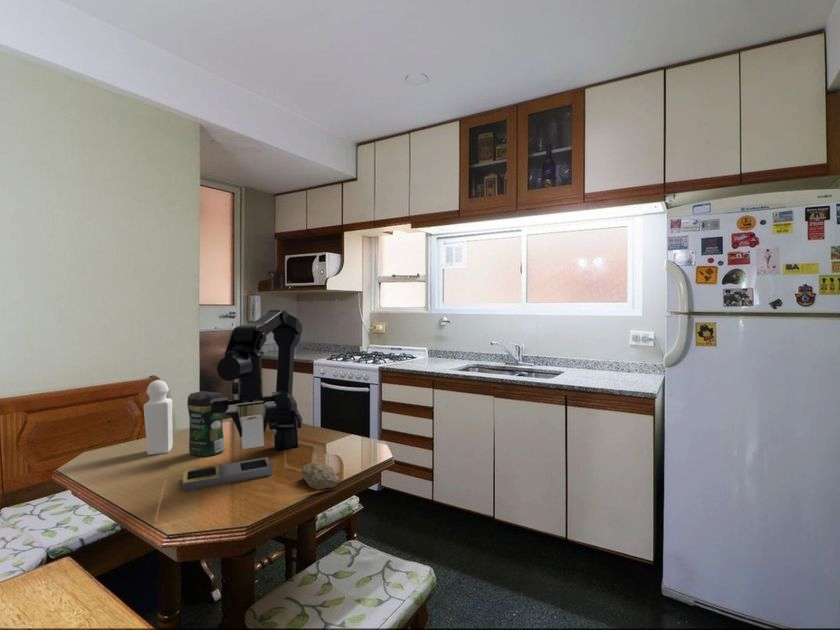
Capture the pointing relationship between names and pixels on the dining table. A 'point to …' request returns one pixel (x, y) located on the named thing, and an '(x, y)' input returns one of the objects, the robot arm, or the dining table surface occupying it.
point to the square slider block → (252, 431)
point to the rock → (319, 476)
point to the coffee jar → (204, 425)
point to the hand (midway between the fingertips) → (252, 435)
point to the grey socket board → (225, 473)
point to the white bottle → (158, 418)
